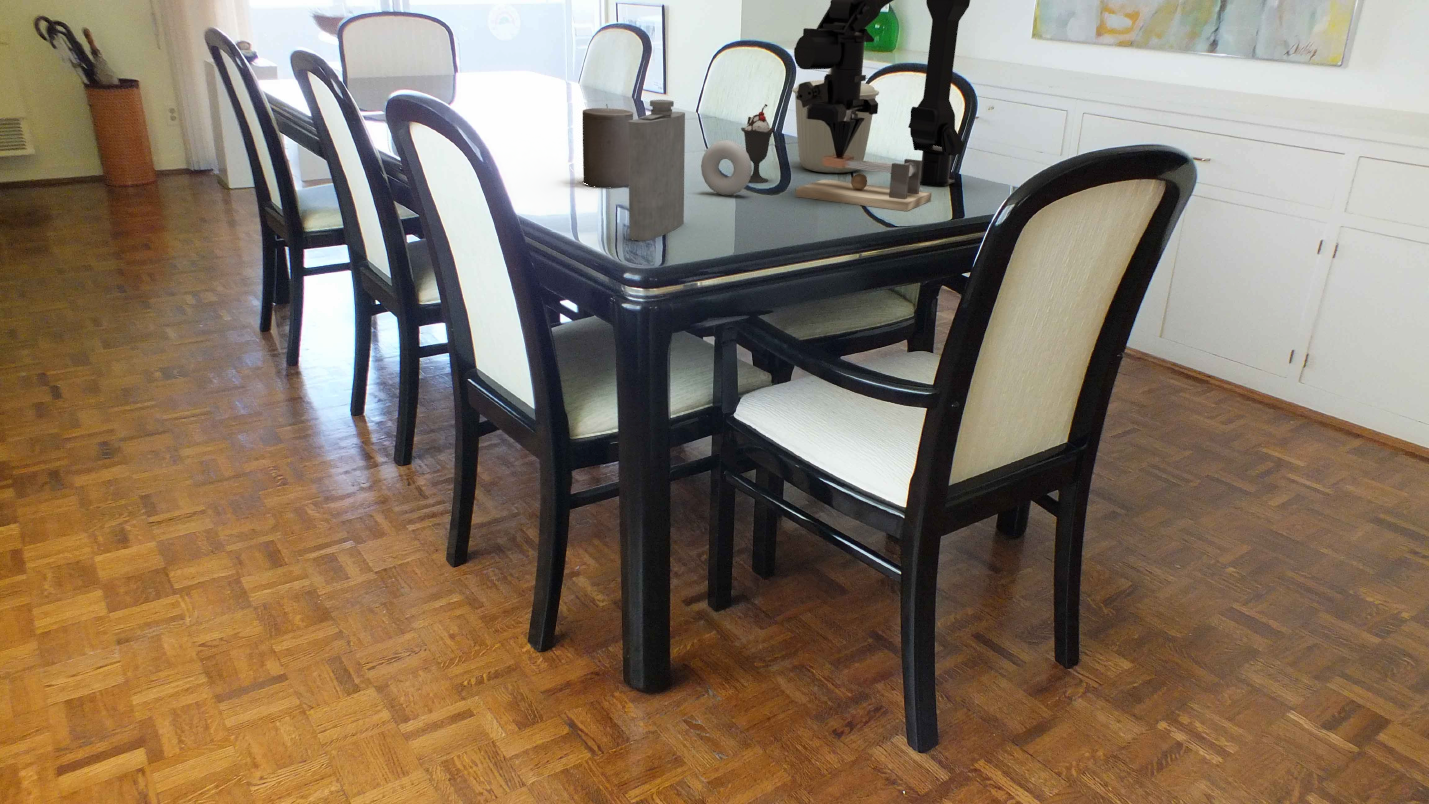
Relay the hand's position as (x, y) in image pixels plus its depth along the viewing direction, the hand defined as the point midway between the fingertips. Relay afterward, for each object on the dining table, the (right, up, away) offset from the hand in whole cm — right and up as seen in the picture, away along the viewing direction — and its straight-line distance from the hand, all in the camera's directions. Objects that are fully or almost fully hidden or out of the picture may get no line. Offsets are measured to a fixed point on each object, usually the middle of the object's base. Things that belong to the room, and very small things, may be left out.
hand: (839, 156), depth 192 cm
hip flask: (-32, -19, -28) cm, 47 cm away
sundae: (-15, -1, +15) cm, 21 cm away
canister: (+2, +4, +30) cm, 30 cm away
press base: (+4, -8, 0) cm, 9 cm away
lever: (+5, -3, -2) cm, 6 cm away
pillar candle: (-44, -3, +9) cm, 45 cm away
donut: (-21, -7, 0) cm, 22 cm away
